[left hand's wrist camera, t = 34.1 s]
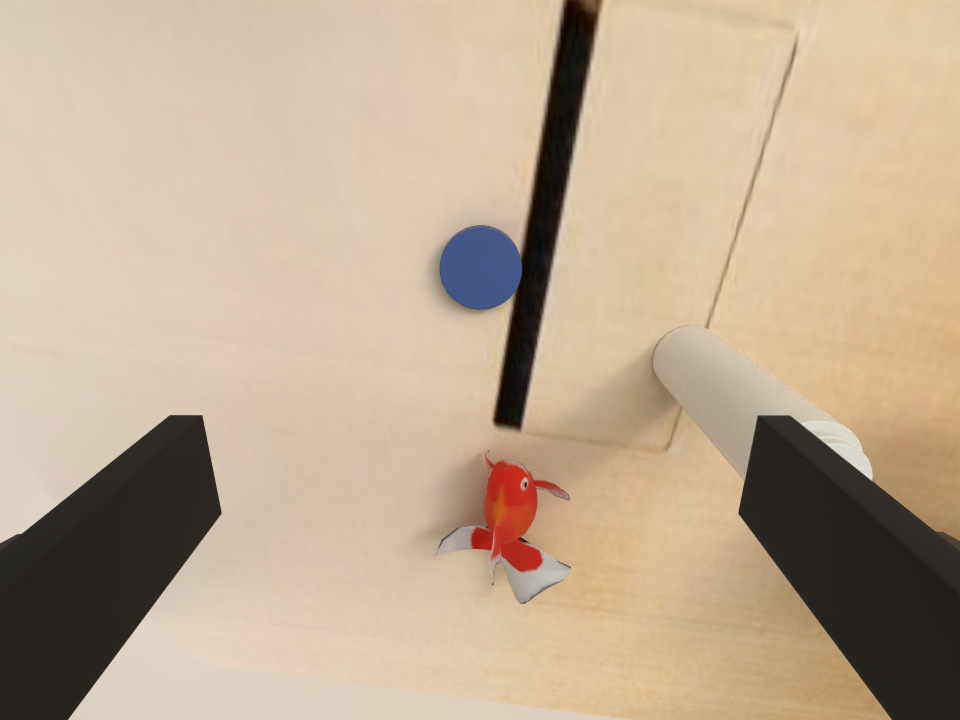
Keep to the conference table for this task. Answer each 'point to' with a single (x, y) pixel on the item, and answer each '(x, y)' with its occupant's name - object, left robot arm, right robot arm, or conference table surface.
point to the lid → (480, 267)
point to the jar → (739, 397)
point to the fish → (511, 530)
